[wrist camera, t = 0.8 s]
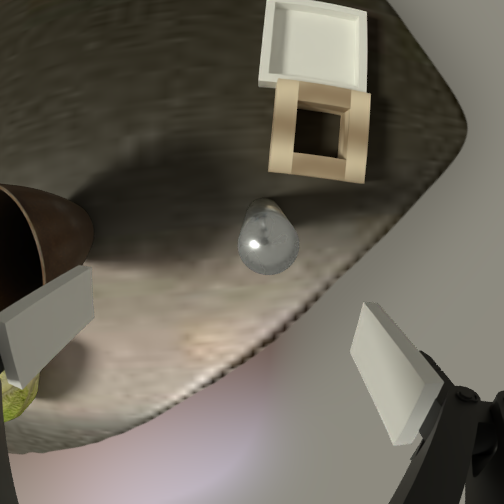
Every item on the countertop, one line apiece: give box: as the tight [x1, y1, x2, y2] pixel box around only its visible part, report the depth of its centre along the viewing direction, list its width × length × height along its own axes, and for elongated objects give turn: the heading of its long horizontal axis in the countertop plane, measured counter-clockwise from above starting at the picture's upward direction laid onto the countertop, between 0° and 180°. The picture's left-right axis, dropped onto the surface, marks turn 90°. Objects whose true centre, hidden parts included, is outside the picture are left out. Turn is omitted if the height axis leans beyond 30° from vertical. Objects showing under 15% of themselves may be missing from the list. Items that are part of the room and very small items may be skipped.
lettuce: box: [0, 371, 40, 422], centre depth 36 cm, size 13×22×14 cm, turn 119°
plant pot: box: [0, 184, 94, 311], centre depth 29 cm, size 15×15×16 cm
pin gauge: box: [238, 198, 299, 275], centre depth 28 cm, size 4×4×16 cm
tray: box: [258, 0, 367, 93], centre depth 30 cm, size 12×12×2 cm
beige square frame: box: [268, 78, 371, 184], centre depth 32 cm, size 10×10×4 cm
